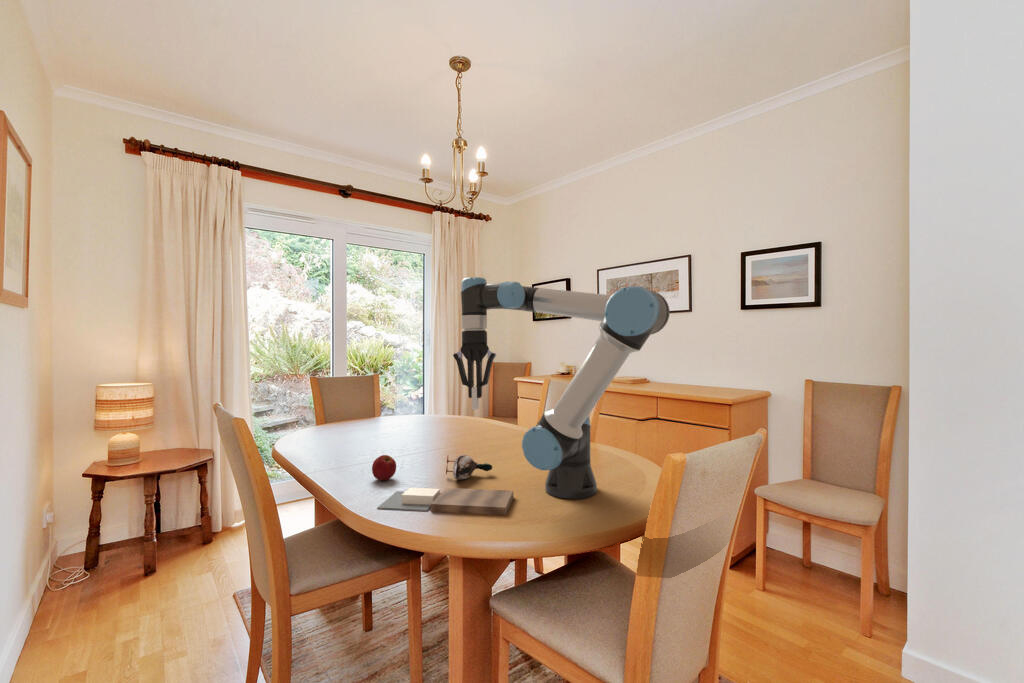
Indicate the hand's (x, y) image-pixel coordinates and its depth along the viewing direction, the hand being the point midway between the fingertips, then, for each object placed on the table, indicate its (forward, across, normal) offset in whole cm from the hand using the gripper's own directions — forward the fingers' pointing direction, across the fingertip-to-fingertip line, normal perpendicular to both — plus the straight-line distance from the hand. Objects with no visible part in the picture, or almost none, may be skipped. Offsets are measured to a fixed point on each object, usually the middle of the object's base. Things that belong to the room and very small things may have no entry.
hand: (475, 408), depth 137 cm
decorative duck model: (+25, +5, -10) cm, 27 cm away
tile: (+24, +13, +11) cm, 30 cm away
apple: (+25, +32, -6) cm, 41 cm away
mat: (+24, +16, +12) cm, 31 cm away
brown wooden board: (+24, -2, +12) cm, 27 cm away
